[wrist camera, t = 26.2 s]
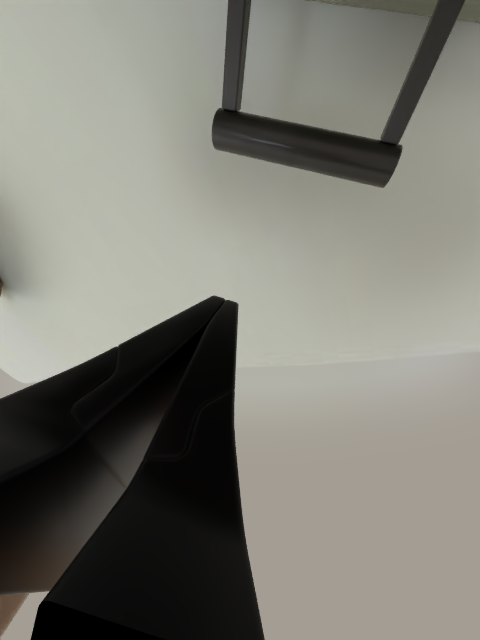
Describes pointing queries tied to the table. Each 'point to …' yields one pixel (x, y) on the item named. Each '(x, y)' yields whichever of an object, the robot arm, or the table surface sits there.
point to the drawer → (321, 144)
